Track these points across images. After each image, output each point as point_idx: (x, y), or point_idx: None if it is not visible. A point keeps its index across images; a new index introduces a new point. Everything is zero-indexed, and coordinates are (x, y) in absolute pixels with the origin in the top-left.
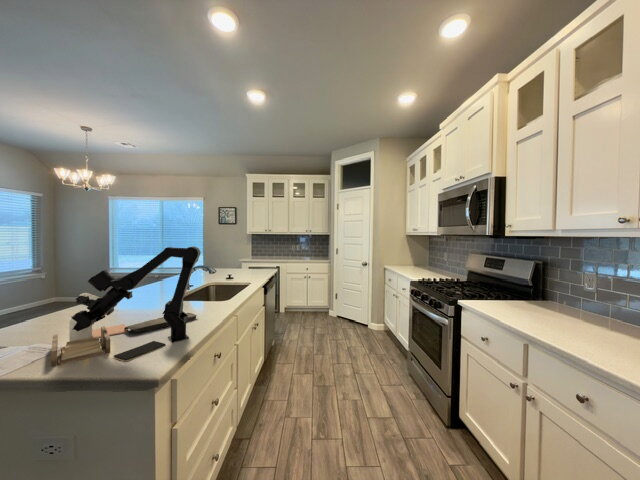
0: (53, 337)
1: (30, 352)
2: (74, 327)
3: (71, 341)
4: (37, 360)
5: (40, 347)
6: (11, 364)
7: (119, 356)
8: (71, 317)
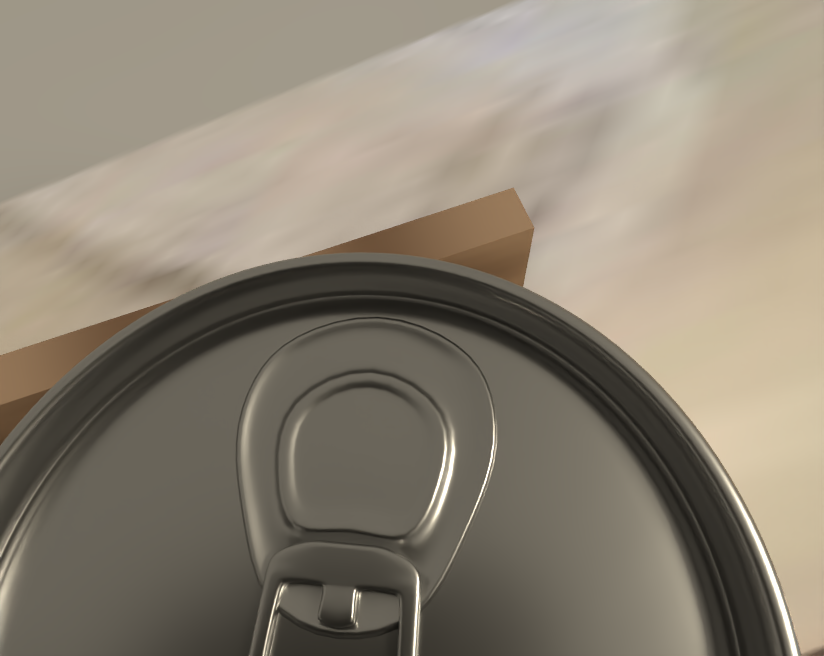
0: (382, 238)
1: (450, 153)
2: None
3: None
4: None
5: (574, 170)
6: (197, 152)
7: None
8: (151, 311)
